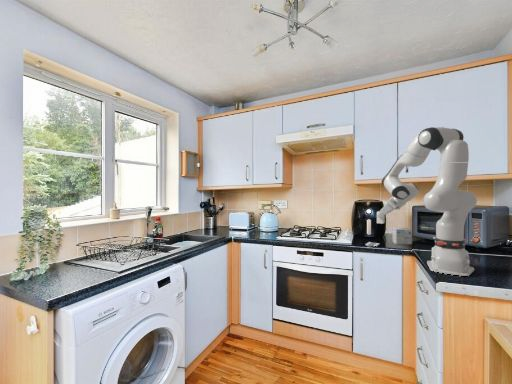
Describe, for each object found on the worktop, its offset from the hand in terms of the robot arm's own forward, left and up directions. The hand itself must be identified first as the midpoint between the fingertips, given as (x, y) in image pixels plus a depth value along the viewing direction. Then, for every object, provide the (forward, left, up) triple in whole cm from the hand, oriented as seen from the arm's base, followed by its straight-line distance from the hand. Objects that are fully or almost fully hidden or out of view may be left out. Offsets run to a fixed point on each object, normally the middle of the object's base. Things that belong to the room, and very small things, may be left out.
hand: (379, 216), depth 170 cm
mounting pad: (-1, +5, -20) cm, 21 cm away
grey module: (0, -1, -5) cm, 5 cm away
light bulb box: (+16, -11, -21) cm, 28 cm away
